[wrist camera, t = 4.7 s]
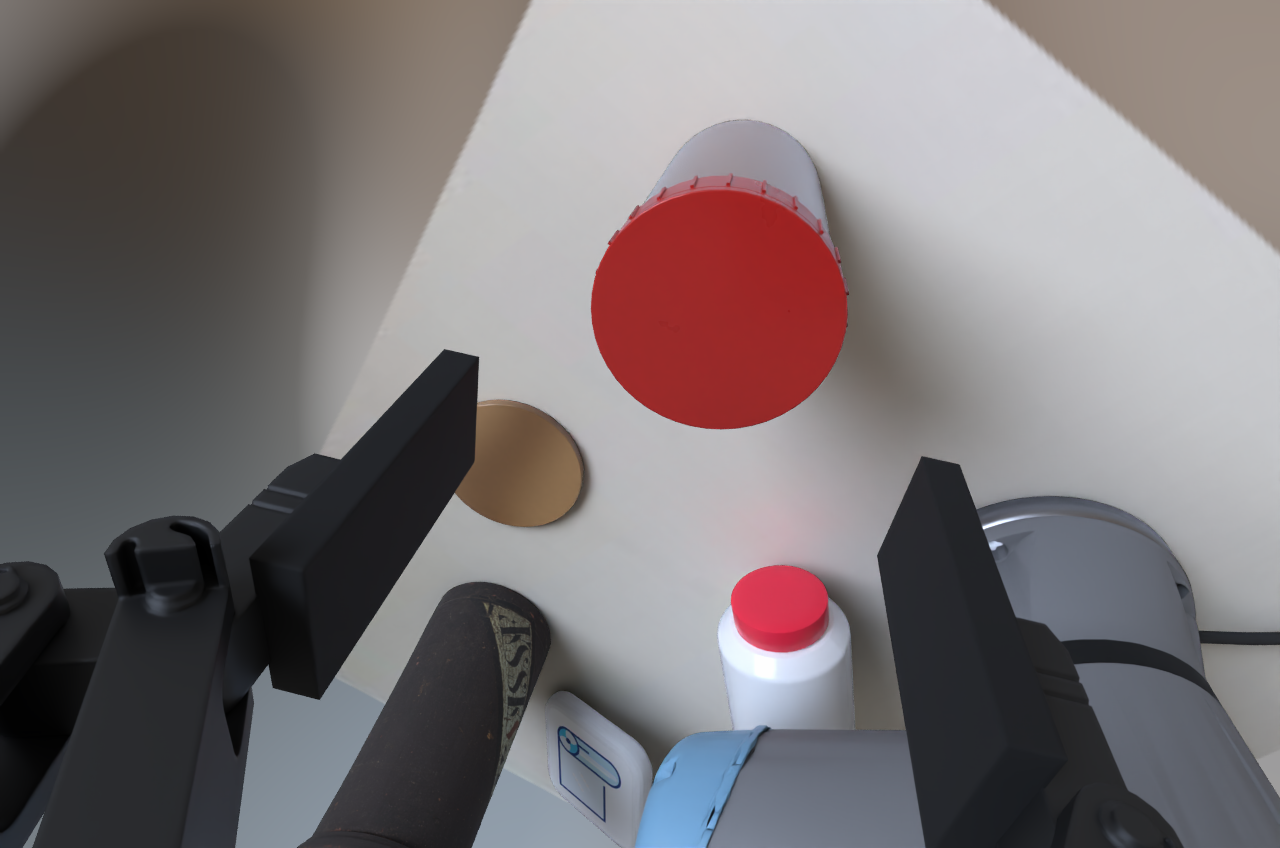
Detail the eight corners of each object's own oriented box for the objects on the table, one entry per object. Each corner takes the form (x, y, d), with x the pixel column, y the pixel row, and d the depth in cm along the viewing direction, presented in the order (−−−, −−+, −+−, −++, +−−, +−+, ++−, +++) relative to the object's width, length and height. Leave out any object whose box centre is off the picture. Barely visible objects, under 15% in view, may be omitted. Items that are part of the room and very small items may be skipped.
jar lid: (880, 202, 21) (887, 219, 20) (805, 425, 26) (806, 454, 24) (619, 149, 22) (606, 161, 20) (588, 376, 26) (576, 402, 25)
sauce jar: (843, 137, 32) (876, 219, 20) (796, 296, 36) (802, 440, 24) (675, 104, 32) (615, 166, 21) (648, 265, 36) (585, 391, 25)
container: (536, 681, 54) (424, 990, 37) (425, 637, 54) (261, 929, 37) (570, 608, 50) (460, 921, 33) (449, 559, 50) (275, 850, 33)
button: (540, 689, 54) (640, 765, 47) (557, 678, 55) (657, 750, 49) (545, 786, 58) (638, 868, 51) (561, 773, 59) (654, 851, 53)
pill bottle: (768, 660, 51) (753, 539, 46) (874, 704, 47) (871, 575, 41) (709, 743, 46) (685, 618, 41) (822, 802, 42) (811, 670, 36)
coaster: (592, 418, 42) (589, 423, 41) (575, 535, 46) (573, 541, 46) (443, 384, 42) (439, 389, 42) (442, 503, 47) (438, 508, 46)
